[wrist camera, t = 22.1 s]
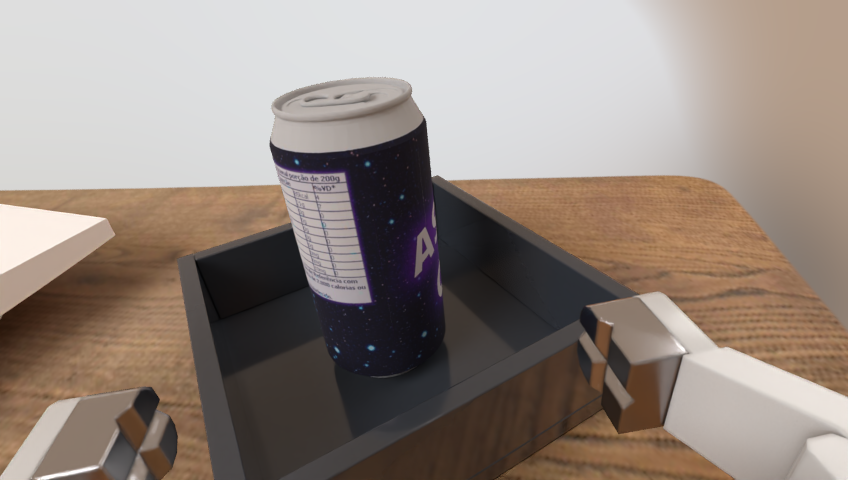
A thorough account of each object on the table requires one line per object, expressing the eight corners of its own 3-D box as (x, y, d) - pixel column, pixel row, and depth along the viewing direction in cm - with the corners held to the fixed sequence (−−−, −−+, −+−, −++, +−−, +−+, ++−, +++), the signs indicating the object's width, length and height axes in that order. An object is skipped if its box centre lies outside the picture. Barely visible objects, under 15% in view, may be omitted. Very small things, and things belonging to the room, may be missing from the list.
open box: (443, 241, 32) (437, 174, 29) (632, 390, 20) (650, 299, 17) (209, 331, 26) (176, 258, 23) (276, 621, 14) (223, 536, 11)
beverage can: (448, 388, 20) (419, 108, 13) (318, 394, 20) (232, 125, 14) (445, 303, 24) (424, 69, 18) (341, 309, 25) (286, 82, 19)
